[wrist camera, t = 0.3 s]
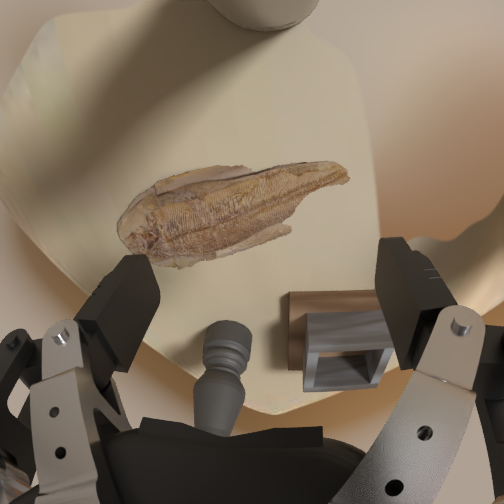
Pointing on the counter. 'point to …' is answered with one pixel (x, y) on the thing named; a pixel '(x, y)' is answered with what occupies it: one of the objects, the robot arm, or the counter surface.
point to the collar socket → (338, 339)
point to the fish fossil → (219, 210)
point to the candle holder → (222, 377)
